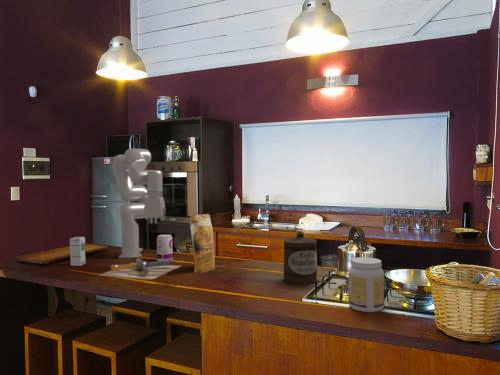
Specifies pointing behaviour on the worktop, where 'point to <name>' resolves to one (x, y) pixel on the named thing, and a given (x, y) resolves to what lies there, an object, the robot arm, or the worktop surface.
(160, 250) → the supplement can
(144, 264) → the capstan
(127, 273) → the striped dish towel
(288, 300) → the worktop surface
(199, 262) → the pancake mix bag
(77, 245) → the syrup box
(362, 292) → the supplement tub
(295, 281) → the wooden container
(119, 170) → the robot arm
